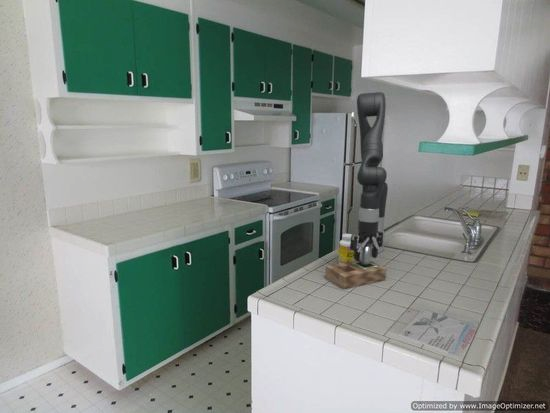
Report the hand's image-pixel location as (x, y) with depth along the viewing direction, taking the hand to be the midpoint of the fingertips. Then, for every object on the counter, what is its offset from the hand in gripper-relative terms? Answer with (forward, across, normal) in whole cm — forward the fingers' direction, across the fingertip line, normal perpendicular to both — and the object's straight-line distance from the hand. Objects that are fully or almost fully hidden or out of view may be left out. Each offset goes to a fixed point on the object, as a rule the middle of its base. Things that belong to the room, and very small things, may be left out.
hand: (365, 258), depth 155 cm
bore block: (+8, +4, 0) cm, 9 cm away
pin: (+7, 0, 0) cm, 7 cm away
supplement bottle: (+8, -2, -15) cm, 17 cm away
